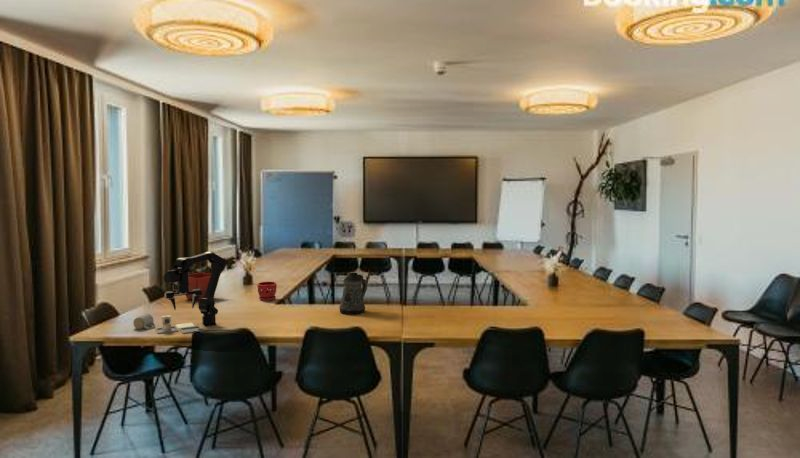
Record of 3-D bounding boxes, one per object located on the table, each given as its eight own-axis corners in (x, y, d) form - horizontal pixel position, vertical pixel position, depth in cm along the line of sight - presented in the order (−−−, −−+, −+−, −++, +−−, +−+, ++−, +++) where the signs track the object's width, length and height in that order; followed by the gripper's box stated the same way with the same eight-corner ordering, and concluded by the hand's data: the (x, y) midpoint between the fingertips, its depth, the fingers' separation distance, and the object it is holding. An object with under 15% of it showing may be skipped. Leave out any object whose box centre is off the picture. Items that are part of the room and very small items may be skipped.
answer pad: (191, 323, 313) (191, 322, 313) (194, 327, 306) (194, 326, 306) (175, 325, 309) (175, 324, 309) (177, 329, 301) (177, 328, 301)
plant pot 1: (219, 297, 388) (219, 274, 387) (197, 302, 372) (196, 278, 370) (202, 294, 398) (201, 272, 397) (179, 299, 382) (179, 275, 381)
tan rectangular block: (170, 329, 299) (169, 315, 298) (171, 330, 296) (170, 316, 295) (162, 330, 297) (161, 315, 296) (163, 331, 293) (163, 317, 293)
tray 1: (175, 328, 303) (175, 326, 303) (178, 332, 295) (178, 330, 295) (155, 330, 298) (155, 328, 298) (158, 334, 289) (157, 332, 289)
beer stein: (335, 314, 338) (335, 274, 336) (345, 307, 357) (345, 270, 355) (360, 315, 334) (360, 276, 332) (369, 309, 353) (369, 271, 351)
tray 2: (199, 328, 304) (198, 325, 304) (202, 332, 295) (202, 330, 295) (179, 330, 298) (179, 328, 298) (182, 334, 290) (182, 332, 290)
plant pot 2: (257, 298, 386) (256, 281, 385) (275, 297, 390) (275, 281, 389) (258, 302, 373) (257, 285, 373) (277, 301, 377) (277, 284, 376)
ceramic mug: (132, 329, 300) (132, 316, 299) (142, 326, 308) (142, 312, 307) (148, 331, 297) (148, 317, 297) (158, 327, 305) (158, 314, 305)
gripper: (197, 277, 307) (198, 304, 308) (162, 280, 297) (163, 308, 298) (202, 280, 298) (202, 308, 299) (166, 283, 288) (166, 312, 289)
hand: (183, 309), depth 296 cm, fingers open, 9 cm apart
